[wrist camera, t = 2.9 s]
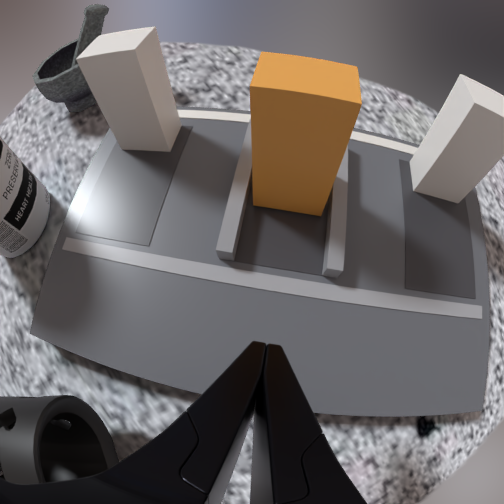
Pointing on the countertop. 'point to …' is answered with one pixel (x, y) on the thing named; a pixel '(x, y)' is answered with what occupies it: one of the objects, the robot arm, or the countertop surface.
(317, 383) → the slotted gray tray
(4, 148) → the supplement can
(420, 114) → the countertop surface
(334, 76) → the orange tall block
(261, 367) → the robot arm
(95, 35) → the mortar and pestle
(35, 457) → the muzzle brake
